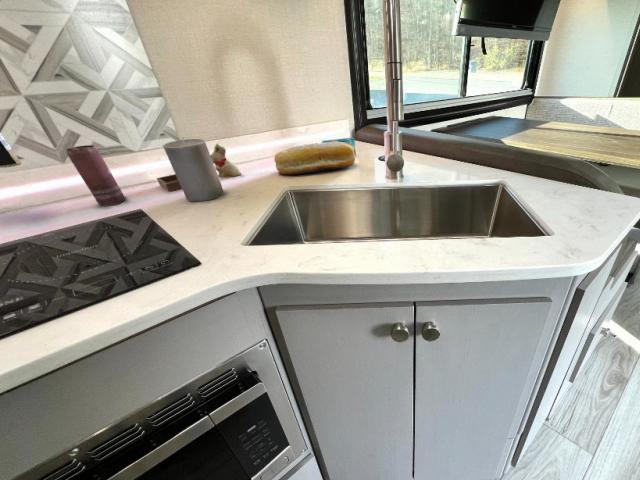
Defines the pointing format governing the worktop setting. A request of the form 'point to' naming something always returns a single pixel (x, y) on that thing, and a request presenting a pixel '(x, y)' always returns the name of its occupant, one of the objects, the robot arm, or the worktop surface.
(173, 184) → the tray
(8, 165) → the sprinkles bottle
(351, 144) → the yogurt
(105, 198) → the can
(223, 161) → the dog figurine
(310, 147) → the bread
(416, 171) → the worktop surface
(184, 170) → the pillar candle
